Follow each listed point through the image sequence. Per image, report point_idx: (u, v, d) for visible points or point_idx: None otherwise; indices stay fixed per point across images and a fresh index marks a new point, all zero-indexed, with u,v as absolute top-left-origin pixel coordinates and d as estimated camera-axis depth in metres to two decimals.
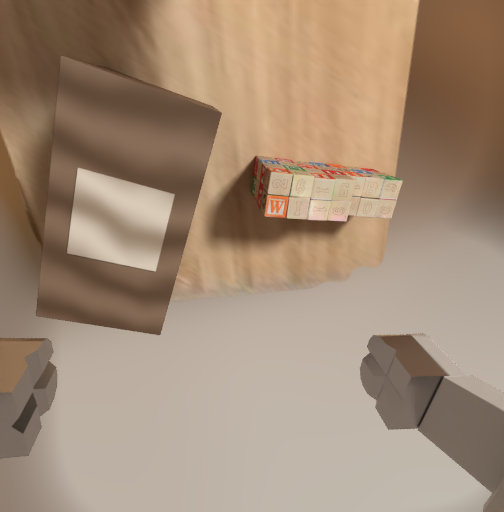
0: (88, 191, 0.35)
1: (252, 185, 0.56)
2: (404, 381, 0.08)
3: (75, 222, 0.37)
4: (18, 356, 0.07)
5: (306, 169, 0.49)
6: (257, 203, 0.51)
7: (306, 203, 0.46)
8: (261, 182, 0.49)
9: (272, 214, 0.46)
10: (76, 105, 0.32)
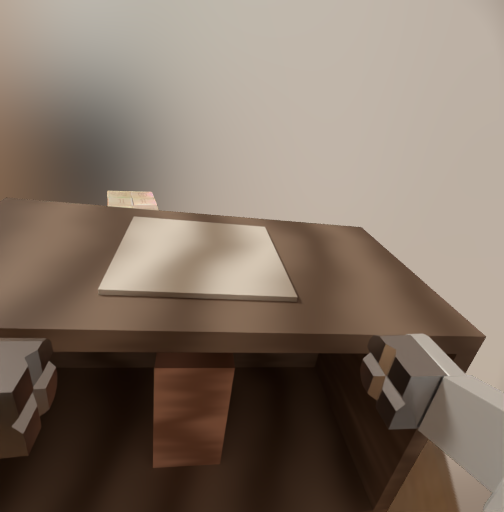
0: (147, 277, 0.17)
1: None
2: (404, 381, 0.08)
3: (222, 289, 0.17)
4: (18, 356, 0.07)
5: None
6: None
7: (138, 205, 0.42)
8: None
9: None
10: None
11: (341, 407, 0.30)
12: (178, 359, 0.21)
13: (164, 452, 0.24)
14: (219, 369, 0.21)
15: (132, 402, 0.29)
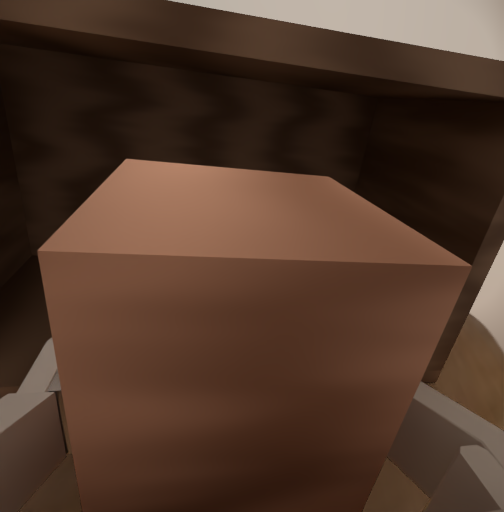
0: None
1: None
2: None
3: None
4: None
5: None
6: None
7: None
8: None
9: None
10: None
11: None
12: (186, 231, 0.04)
13: None
14: (402, 273, 0.04)
15: None
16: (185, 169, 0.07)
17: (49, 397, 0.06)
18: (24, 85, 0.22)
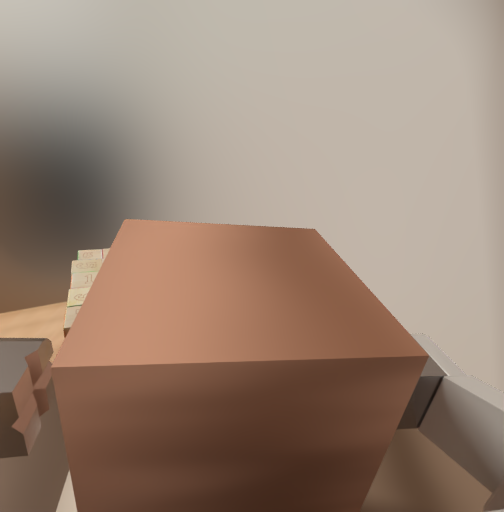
0: None
1: None
2: None
3: None
4: (18, 356, 0.07)
5: None
6: None
7: None
8: None
9: None
10: None
11: None
12: (179, 326, 0.05)
13: None
14: (367, 365, 0.05)
15: None
16: (179, 230, 0.08)
17: None
18: None
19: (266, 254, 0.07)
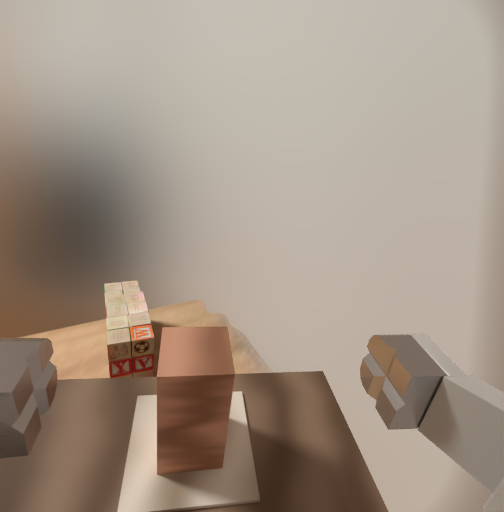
0: (150, 490, 0.24)
1: None
2: (404, 381, 0.08)
3: (205, 498, 0.24)
4: (18, 356, 0.07)
5: None
6: (153, 366, 0.50)
7: (132, 315, 0.51)
8: (129, 367, 0.48)
9: (150, 332, 0.48)
10: None
11: None
12: (180, 367, 0.22)
13: (168, 458, 0.25)
14: (220, 376, 0.22)
15: None
16: (180, 332, 0.25)
17: None
18: None
19: (206, 341, 0.25)
